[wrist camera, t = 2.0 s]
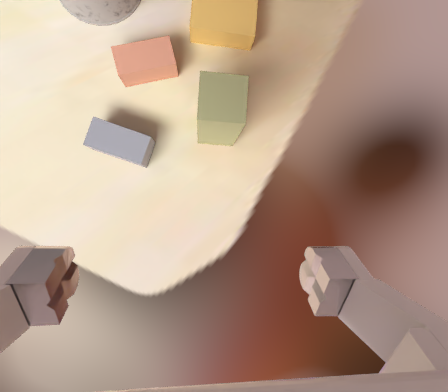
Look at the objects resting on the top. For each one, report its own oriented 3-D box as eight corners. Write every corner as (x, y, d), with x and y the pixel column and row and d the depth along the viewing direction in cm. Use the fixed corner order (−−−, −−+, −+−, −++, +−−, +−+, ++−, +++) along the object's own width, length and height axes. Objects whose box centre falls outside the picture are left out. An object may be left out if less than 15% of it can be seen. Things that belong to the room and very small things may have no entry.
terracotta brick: (126, 87, 30) (118, 75, 27) (119, 62, 30) (110, 46, 27) (178, 77, 31) (176, 63, 28) (172, 51, 31) (169, 35, 28)
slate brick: (94, 150, 30) (83, 144, 27) (103, 124, 30) (93, 116, 27) (146, 167, 30) (141, 164, 27) (155, 143, 30) (150, 136, 27)
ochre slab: (190, 43, 31) (189, 27, 28) (195, -15, 31) (195, -38, 28) (249, 52, 32) (255, 36, 29) (254, -6, 32) (260, -28, 29)
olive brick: (197, 143, 30) (197, 119, 22) (199, 108, 31) (200, 70, 22) (232, 146, 31) (245, 123, 22) (234, 111, 31) (248, 75, 22)
